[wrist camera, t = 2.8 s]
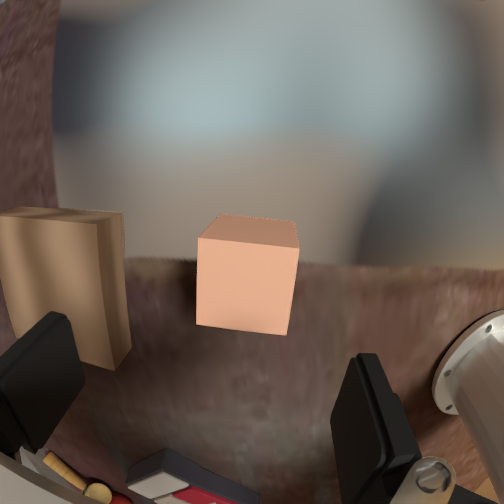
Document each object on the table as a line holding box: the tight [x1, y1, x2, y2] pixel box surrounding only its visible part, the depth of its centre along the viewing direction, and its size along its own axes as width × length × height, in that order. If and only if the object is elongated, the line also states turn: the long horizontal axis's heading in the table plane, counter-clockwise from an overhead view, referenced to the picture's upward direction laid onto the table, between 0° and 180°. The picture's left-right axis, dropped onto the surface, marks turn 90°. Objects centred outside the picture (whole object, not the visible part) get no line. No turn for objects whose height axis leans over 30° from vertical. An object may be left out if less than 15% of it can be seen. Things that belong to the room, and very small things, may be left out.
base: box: [0, 207, 132, 371], centre depth 22 cm, size 12×12×4 cm
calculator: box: [125, 448, 260, 504], centre depth 31 cm, size 11×4×15 cm
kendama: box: [43, 451, 132, 504], centre depth 35 cm, size 8×6×18 cm
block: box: [196, 214, 300, 335], centre depth 19 cm, size 5×5×6 cm
